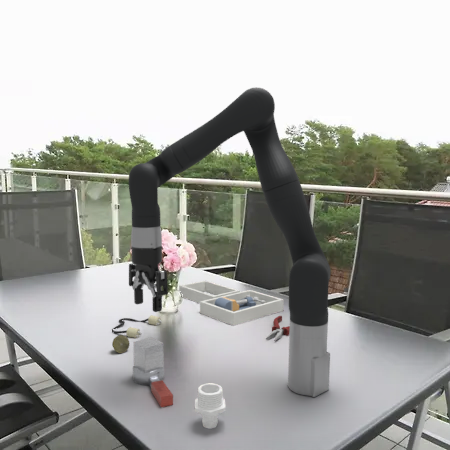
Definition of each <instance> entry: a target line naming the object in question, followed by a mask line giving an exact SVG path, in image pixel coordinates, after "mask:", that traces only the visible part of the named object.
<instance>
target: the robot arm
mask: <svg viewBox="0 0 450 450" xmlns="http://www.w3.org/2000/svg"><path fill="white" fill-rule="evenodd" d="M275 107H276V105H275V100H274V97H273V96H272V94H271V92H269V91H268V90H266V89H264V88H262V87H251V88H248V89H246V90H245V91H243V92H242V93H241V94H240V95H239V96H238V97H236V99H234V100H233V101H232V102H231V103H230V104H229V105H227V107H226V108H224V109H223V110H222V111H220V112H219V113H218V114H216V115H215V116H214V117H212V118H211V119H210V120H208V121H207V122H205V123H204V124H203V125H201V126H199V127H197V128H196V129H194V130H192V131H191V132H189V133H188V134H186V135H184V136H183V137H182V138H179V139H178V140H177V141H175V142H174V143H172V144H170V145H169V146H167V147H166V148H164V149H163V150H162V151H161V153H160V154H158V155H157V156H155V157H153V158H151V159H150V160H148V161H146V162H145V163H144V162H143V163H137V164H136V165H135V166H133V167H132V168H131V169H130V171H129V174H128V191H129V199H130V203H131V233H130V234H131V235H130V238H131V239H130V241H131V242H130V245H131V248H130V249H131V263H129V265H128V286H129V287H132V290H133V293H134V295H133V297H134V300H133V301H134V304H135V305H141V304H143V303H144V289H143V288H144V286H146V287H147V289H148V290H150V292H151V294H152V312H154V313H157V312H161V311H162V309H163V297H164V296H167V295H168V293H169V289H168V274H167V270H160V269H159V265H160V264H161V263H162V262H163V245H162V244H163V238H162V237H163V235H162V227H161V208H160V205H159V201H158V200H159V198H158V196H159V195H158V194H159V193H158V188H160V187H161V186H163V185H165V184H166V183H167V182H169V181H170V180H171V179H172V178H174V177H175V176H177V175H178V174H179V175H180V174H181V173H183V172H185V171H186V170H188V169H190V168H191V167H193V166H194V165H196V164H197V163H199V162H201V161H202V160H203V159H205V158H206V157H207V156H209V155H210V154H211V153H212V152H213V151H215V150H216V149H218V147H220V146H221V145H222V144H224V143H225V142H227V141H228V140H229V139H232V137H234V136H237V134H240V133H244V135H245V137H246V139H247V141H248V143H249V145H250V149H251V151H252V153H253V157H254V161H255V166H256V170H257V171H256V172H257V175H258V179H259V183H260V186H261V189H262V193H263V196H264V198H265V202H266V205H267V208H268V209H269V212H270V215H271V217H272V219H274V222H275V224H276V225H277V226H278V228H279V230H280V232H281V233H282V234H283V237H284V238H285V241H286V243H287V246H288V249H289V253H290V257H291V261H292V266H291V269H290V270H289V277H288V311H289V326H290V331H289V336H288V337H289V338H288V341H289V342H288V367H287V368H288V372H287V373H288V377H287V387H288V388H289V390H290V391H292V392H294V393H295V394H298V395H302V396H310V397H312V398H315V397H317V396H319V395H321V394H323V393H325V392H327V391H329V389H330V370H331V369H330V368H331V366H330V365H331V353H330V352H329V351H328V332H329V331H328V330H329V327H328V326H329V306H328V305H329V282H330V279H331V275H332V274H331V273H332V271H331V266H330V264H329V261H328V259H327V257H326V256H325V253H324V252H323V249H322V246H321V245H320V242H319V241H318V239H317V236H316V233H315V230H314V227H313V223H312V219H311V215H310V210H309V208H308V207H309V206H308V204H307V200H306V197H305V196H306V195H305V194H304V190H303V187H302V185H301V181H300V179H299V176H298V173H297V172H296V170H295V167H294V166H293V163H292V161H291V159H290V158H289V157H288V154H287V153H286V151H285V149H284V148H283V147H284V146H283V145H282V142H281V140H280V136H279V133H278V128H277V125H276V120H275V115H274V114H275V109H276V108H275ZM133 278H134V279H133Z"/></svg>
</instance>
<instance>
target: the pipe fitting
mask: <svg viewBox="0 0 450 450" xmlns="http://www.w3.org/2000/svg"><path fill="white" fill-rule="evenodd" d="M223 390H224V389H223V387H222V386H221V385H220V384H217V383H214V382H213V383H212V382H209V383H203V384H201V385H200V386H198V388H197V398H195V399H194V412H195V413H197V414H201V416H202V419H201V421H202V426H203V427H204V428H205V429H209V430H211V429H215V428H216V427H217V426H218V421H219V420H218V419H219V417H218V416H219V414H220V415H221V414H222V413H225V412H226V399H225V398H224V397H223Z"/></svg>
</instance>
